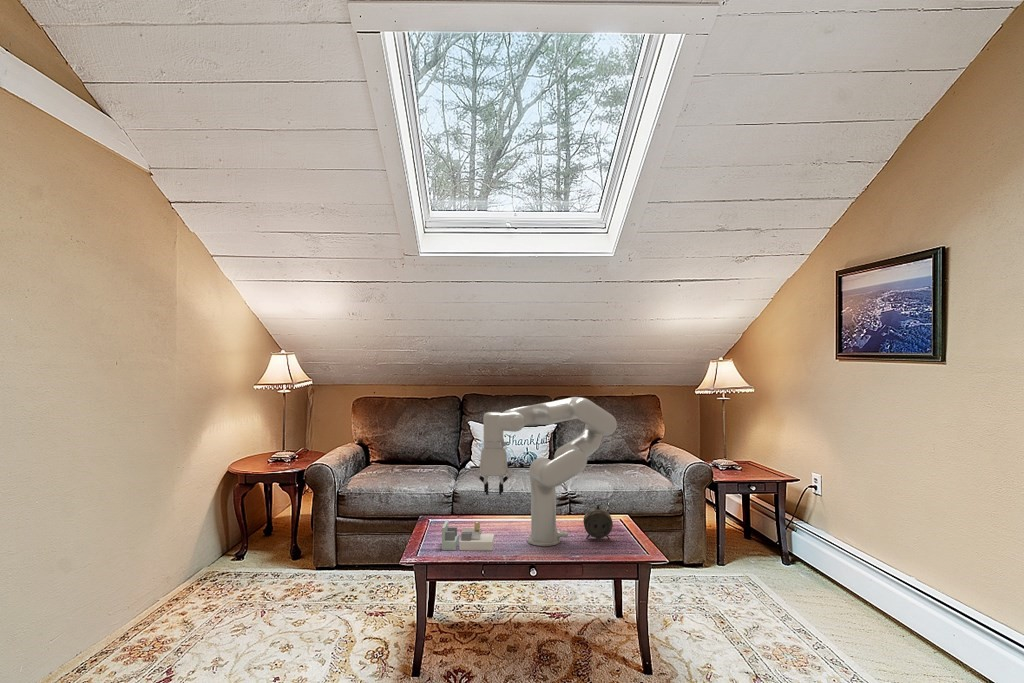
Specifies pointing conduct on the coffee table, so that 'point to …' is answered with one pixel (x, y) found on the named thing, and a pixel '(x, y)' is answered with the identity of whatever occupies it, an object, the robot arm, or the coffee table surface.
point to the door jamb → (449, 537)
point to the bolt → (474, 531)
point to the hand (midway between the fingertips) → (493, 493)
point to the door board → (476, 542)
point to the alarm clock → (598, 522)
